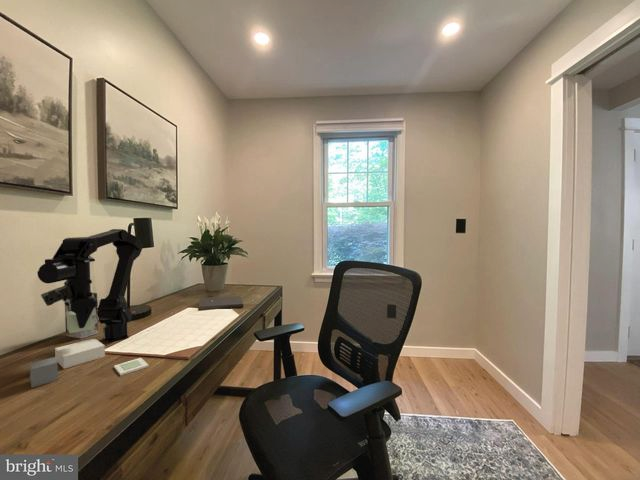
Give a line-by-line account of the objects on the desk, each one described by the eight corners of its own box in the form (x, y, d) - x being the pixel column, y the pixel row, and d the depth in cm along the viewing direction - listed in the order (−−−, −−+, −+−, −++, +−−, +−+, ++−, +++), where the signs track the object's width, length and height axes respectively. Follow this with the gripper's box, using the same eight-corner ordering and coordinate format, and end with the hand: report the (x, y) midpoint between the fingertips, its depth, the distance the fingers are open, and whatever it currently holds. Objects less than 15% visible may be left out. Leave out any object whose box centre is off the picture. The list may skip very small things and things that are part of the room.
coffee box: (98, 333, 110) (98, 292, 110) (80, 339, 104) (79, 296, 104) (83, 330, 113) (82, 291, 113) (64, 336, 107) (63, 294, 107)
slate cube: (55, 374, 79) (55, 356, 79) (57, 380, 76) (57, 362, 76) (30, 381, 76) (29, 363, 76) (31, 388, 72) (31, 369, 72)
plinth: (94, 349, 96) (94, 338, 96) (104, 357, 90) (104, 345, 90) (55, 360, 88) (55, 348, 88) (64, 369, 82) (63, 356, 82)
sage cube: (89, 324, 93) (88, 308, 93) (92, 328, 89) (92, 311, 89) (67, 329, 89) (66, 312, 88) (69, 333, 85) (69, 315, 85)
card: (140, 359, 88) (140, 357, 88) (148, 366, 84) (148, 364, 84) (114, 367, 83) (114, 365, 83) (120, 375, 79) (120, 373, 79)
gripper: (40, 276, 88) (41, 325, 89) (46, 285, 76) (48, 341, 77) (85, 272, 97) (86, 317, 97) (97, 279, 84) (98, 330, 85)
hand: (80, 325), depth 89 cm, fingers closed on sage cube, 5 cm apart
